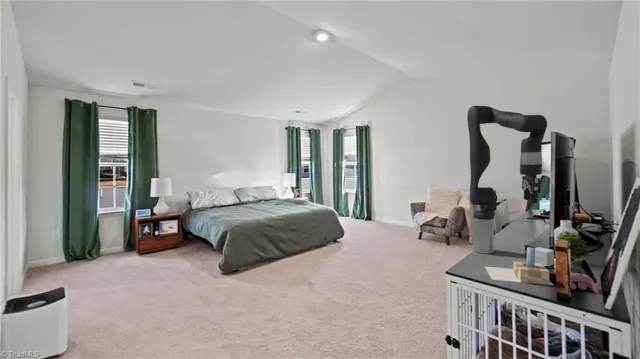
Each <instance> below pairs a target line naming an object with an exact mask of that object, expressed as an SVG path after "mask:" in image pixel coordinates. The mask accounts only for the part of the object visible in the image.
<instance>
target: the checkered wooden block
mask: <svg viewBox="0 0 640 359" xmlns="http://www.w3.org/2000/svg"><path fill="white" fill-rule="evenodd" d="M526 265H527V261H526V262H525V261H513V269H514V275H515V276H516V277H517V278H518V280H519V281H520V282H519V283H524V282H525V283H527V284H534V283H536V284H537V285H545V284H547V286H550V285H549V281H550V270H548V268H545V267H544V266H542V265H541V264H540V263H535V268H526ZM536 284H535V285H536Z"/></svg>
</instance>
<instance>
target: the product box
mask: <svg viewBox="0 0 640 359" xmlns="http://www.w3.org/2000/svg"><path fill="white" fill-rule="evenodd" d="M534 248H535V263H540V264H541V265H542V266H550V265H553V264H554V265H555V263H554V262H555V259H554V258H555V252H554V250H553V249H550V248H545V247H540V246H537V247H534Z"/></svg>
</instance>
